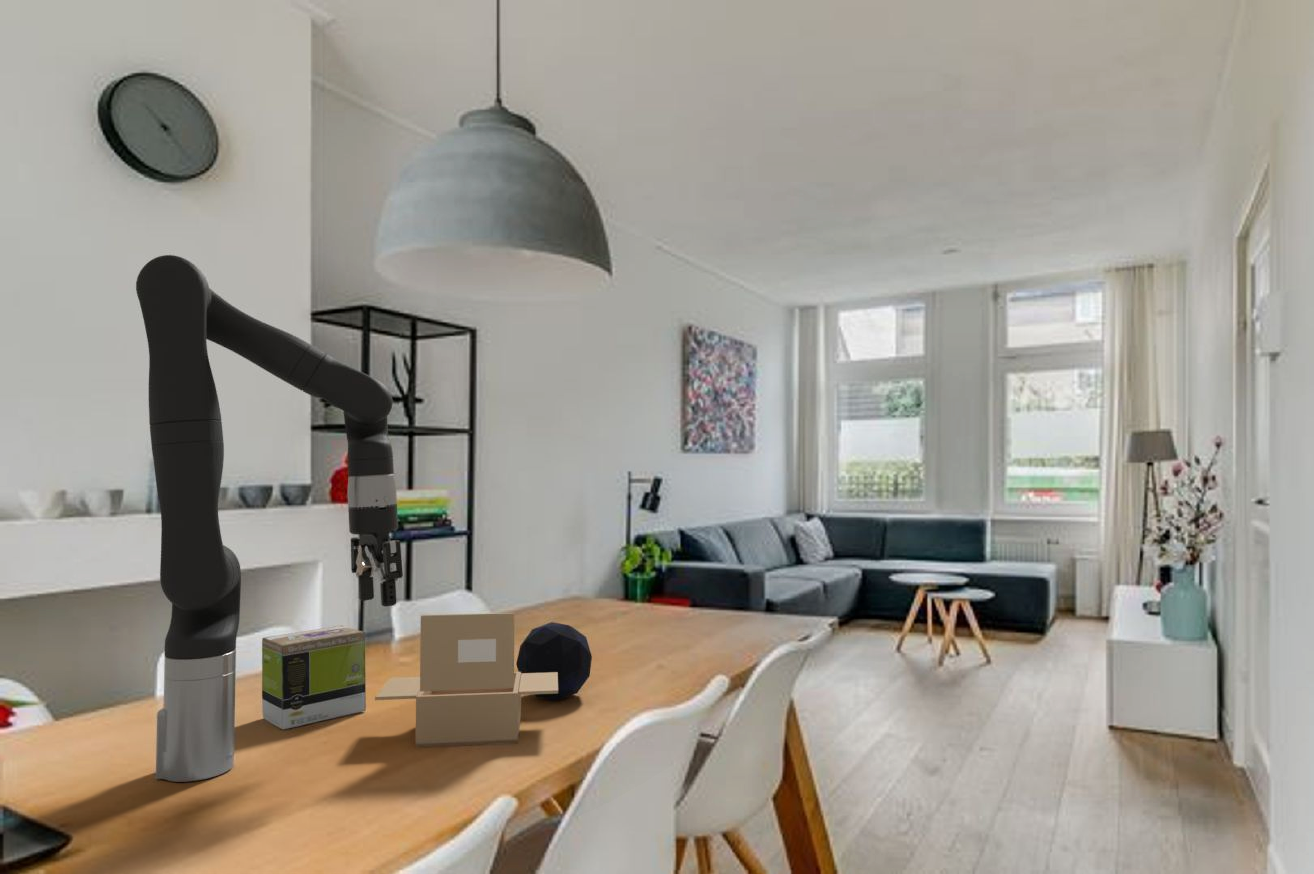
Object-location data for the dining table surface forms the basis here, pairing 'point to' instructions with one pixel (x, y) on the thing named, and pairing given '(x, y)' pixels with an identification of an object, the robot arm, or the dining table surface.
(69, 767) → the dining table surface
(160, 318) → the robot arm
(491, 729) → the carton
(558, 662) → the decorative orb
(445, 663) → the cardboard box flap
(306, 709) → the tea box
